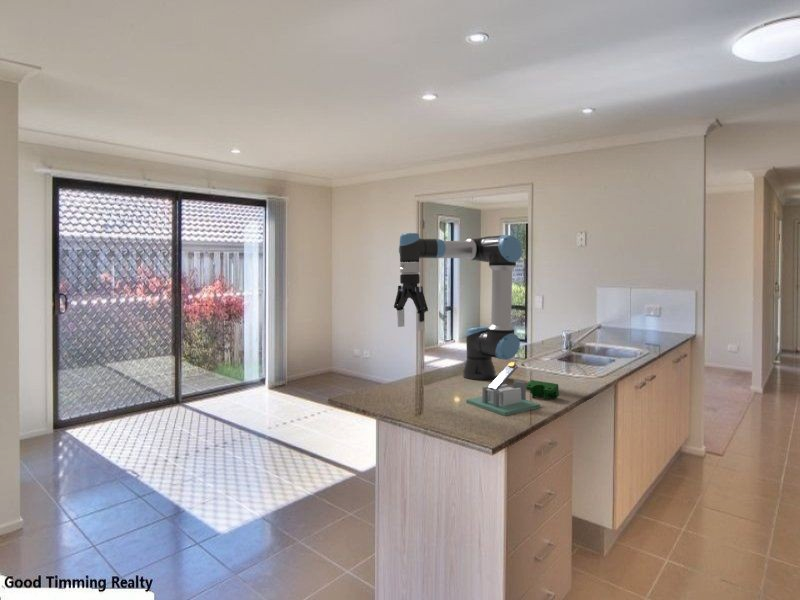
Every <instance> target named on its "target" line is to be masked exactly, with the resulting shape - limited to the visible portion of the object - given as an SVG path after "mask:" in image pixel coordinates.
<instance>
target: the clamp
mask: <svg viewBox="0 0 800 600" xmlns="http://www.w3.org/2000/svg"><path fill="white" fill-rule="evenodd" d="M526 391H529V392H530V394H531V396H532V399H534V398H535V397H542V398H543V400H544V401H546V400H548V399H553V400H554V399H555V400H556V399H557V398H558V397H559V395H560V390H559V384H558V383H553V382H546V381H540V380H534V379H530V381H528V382H527V383H526Z"/></svg>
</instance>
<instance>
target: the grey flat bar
mask: <svg viewBox="0 0 800 600" xmlns="http://www.w3.org/2000/svg"><path fill="white" fill-rule="evenodd" d="M518 366H519V365H517V362H513V361H510V362H509V363H508V364H507V365H506V366H505V367H504V369H502V370H501V372H500V373H499V374H498V375H496V377H495V378H494V380H492V382H491V383H490V384H488V386H487V387H488V389H492V390H498V389H499V388H500V387H501V386H502V385H504V384H505V383H506V382H507V380H509V378H510V377H511V376H512V374H513V373H514V372H515V371H516V370H517V369H518Z"/></svg>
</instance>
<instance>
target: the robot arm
mask: <svg viewBox="0 0 800 600" xmlns="http://www.w3.org/2000/svg"><path fill="white" fill-rule="evenodd" d="M398 244H399V245H398V253H399V270H400V271H399V272H400V273H401V274H400V276H399V281H400V284H401V285H398V286H397V293H396V297H395V301H394V305H393V308H394V309H396V311H397V314H396V315H397V317H396V318H397V327H398V328H401V327H403V328H404V327H405V308H404V307H405V306H406V303H407V301H408V299H411V300H412V302H413V304H414V306H415V308H416V331H425V313H426V312H428V311H429V308H428V305H427V301H426V298H425V295H424V288H423V286H418V284H420V278H421V277H420V267H421V265H420V260H421V259H466V261H476V262H482V263H483V262H485V263H488V267H489V268H490V269H491V273H492V274H491V277H492V278H491V313H490V314H491V316H490V317H491V318H490V319H491V321H490V325H489V326H480V327H469V328H468V329H467V330H466V336H465V339H466V361H465V363H464V364H465V365H464V367H463V370H462V376H463V378H465V379H470V380H481V381H482V380H483V381H484V380H491V379H495V378H496V377H497V375H496V370H495V366H494V363H493V358H495V359H498V360H506V361H507V360H508V361H509V360H511V359H512V358H514V357H515V356H516V355H517V353H518V352H519V349H520V346H521V345H520V344H521V343H520V342H521V340H520V338H519V336H518V335H517V334H515V328H514V327H513V325H512V301H513V298H512V297H513V296H512V293H513V292H512V290H513V288H512V287H513V270H514V269H515V268H516V267H517V262H519V261H520V259H521V257H522V254H523V248H522V245H521V242H520V240H518V238H517V237H515V236H514V235H511V234H510V235H509V234H503V235H502V234H501V235H491V236H489V235H488V236H483V237H477V238H467V239H466V240H443V239H440V238H439V239H438V238H421V237H420V234H419V233H417V232H407V233H406V232H405V233H401V234H400V236H399V243H398Z"/></svg>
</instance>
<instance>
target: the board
mask: <svg viewBox="0 0 800 600" xmlns="http://www.w3.org/2000/svg"><path fill="white" fill-rule="evenodd" d="M526 385H527V383H526V382H525V381H524V382H523V381H522V380H521V381H520V380H517V379H515V380H513V387H510V386H508V384H507V383H503V385H502V386H501V387H500V388H499V389H498V390H492V389H489V388H488V386H482V396H478V397H473V398H469V399H467V398H466V400H465V401H466V404H469V405H472V406H475V407H477V408H479V409H480V408H481V409H483V410H487V411H489V412H492V413H495V414H497V415H501V416H503V417H506V416H509V415H515V414H518V413H523V412H526V411H532V410H535V409H540V408H541V403H538V402H534V401H531V400H528V399H527V397H526V394H527V393H526V391H527V389H526Z"/></svg>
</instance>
